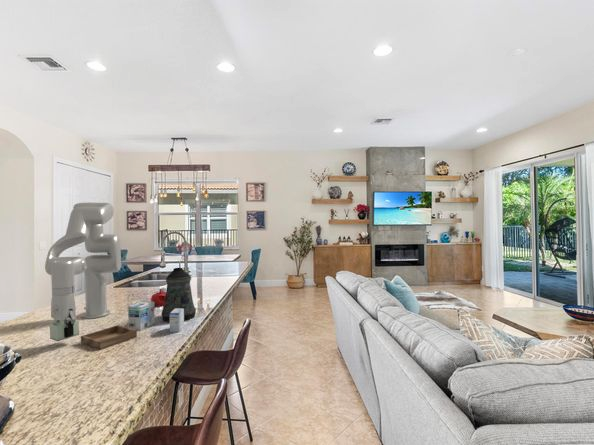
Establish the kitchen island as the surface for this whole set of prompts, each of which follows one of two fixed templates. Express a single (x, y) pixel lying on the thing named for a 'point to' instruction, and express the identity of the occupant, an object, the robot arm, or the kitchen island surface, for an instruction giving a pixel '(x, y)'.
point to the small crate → (62, 330)
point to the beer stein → (178, 295)
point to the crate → (108, 337)
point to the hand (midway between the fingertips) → (64, 334)
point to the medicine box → (176, 320)
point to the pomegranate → (158, 298)
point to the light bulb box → (141, 315)
